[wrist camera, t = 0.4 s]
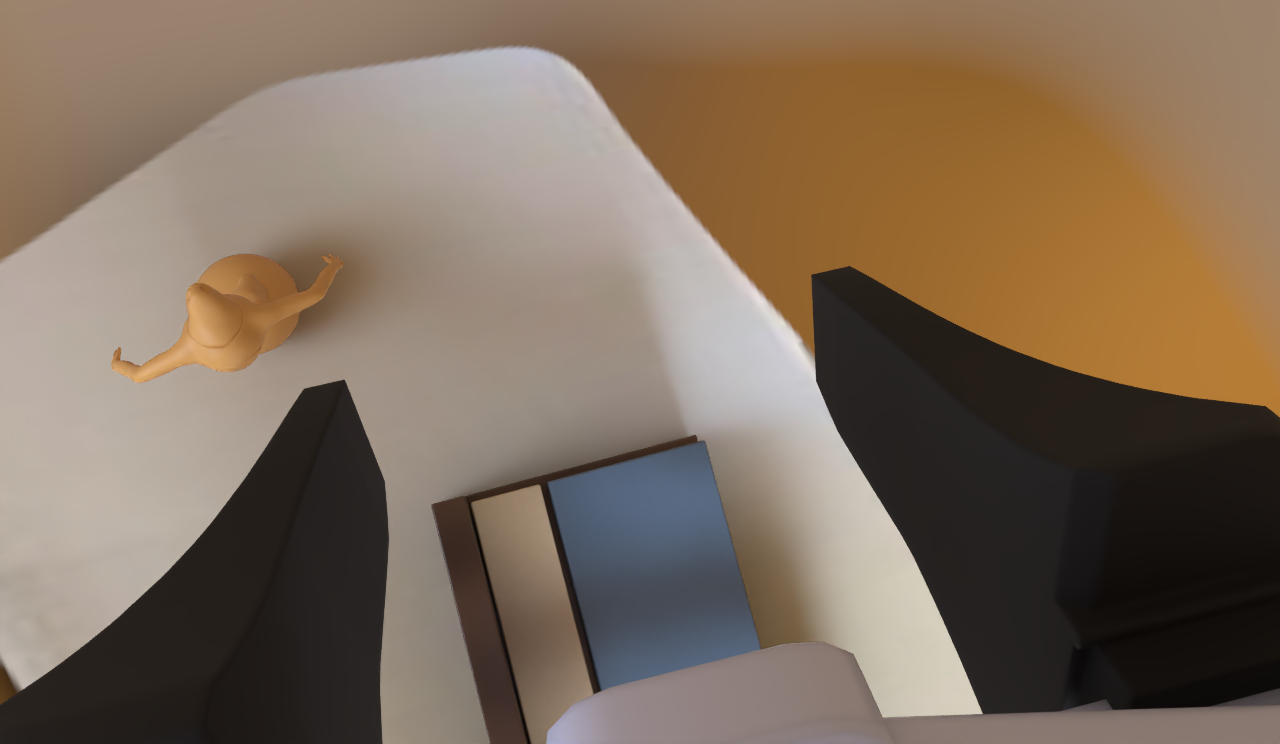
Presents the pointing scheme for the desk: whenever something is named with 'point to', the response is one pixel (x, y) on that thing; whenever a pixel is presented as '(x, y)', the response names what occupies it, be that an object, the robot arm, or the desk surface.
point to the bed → (592, 582)
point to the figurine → (235, 316)
